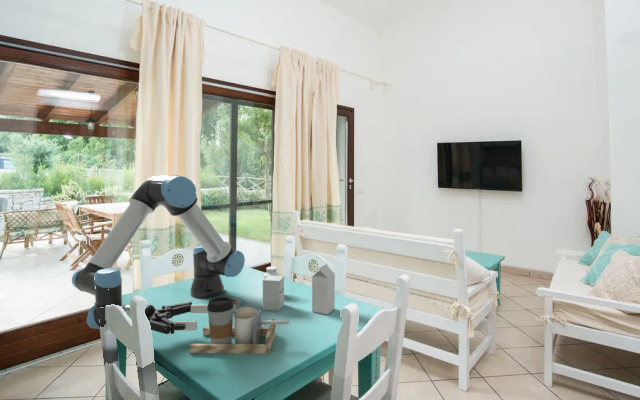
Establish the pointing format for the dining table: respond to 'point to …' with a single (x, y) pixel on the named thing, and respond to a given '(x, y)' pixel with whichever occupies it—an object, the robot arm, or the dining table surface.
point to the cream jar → (244, 325)
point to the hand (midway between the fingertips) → (203, 316)
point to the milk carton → (323, 290)
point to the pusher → (258, 326)
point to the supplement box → (273, 293)
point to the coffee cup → (220, 320)
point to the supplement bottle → (271, 272)
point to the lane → (237, 348)
